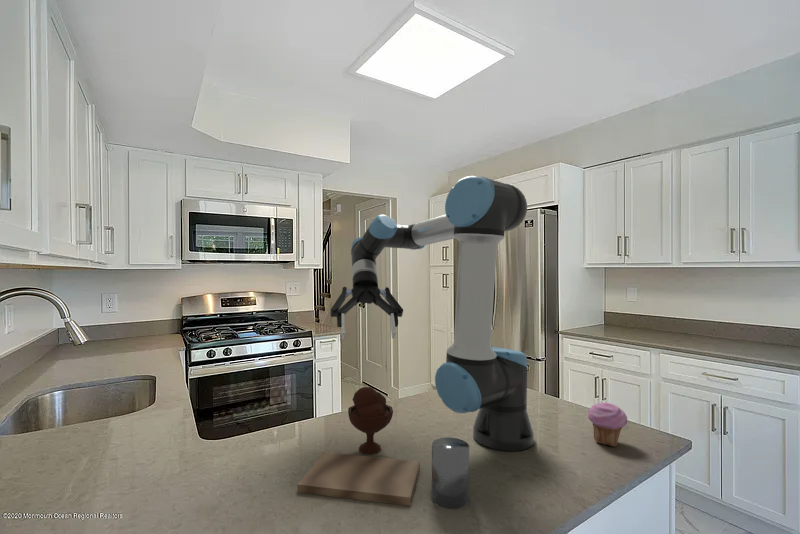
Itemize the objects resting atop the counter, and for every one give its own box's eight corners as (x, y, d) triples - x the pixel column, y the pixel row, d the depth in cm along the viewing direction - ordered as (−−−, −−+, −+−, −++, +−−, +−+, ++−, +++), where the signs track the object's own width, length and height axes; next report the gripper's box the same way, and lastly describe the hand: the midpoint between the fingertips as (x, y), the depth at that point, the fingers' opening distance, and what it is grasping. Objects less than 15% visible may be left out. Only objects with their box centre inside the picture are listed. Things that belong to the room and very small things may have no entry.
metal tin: (468, 490, 78) (469, 439, 79) (468, 511, 72) (469, 455, 72) (433, 486, 80) (433, 436, 80) (429, 506, 73) (430, 451, 73)
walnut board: (419, 468, 87) (420, 461, 87) (410, 505, 73) (410, 497, 73) (323, 458, 91) (323, 452, 91) (297, 492, 77) (297, 484, 77)
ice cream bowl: (387, 461, 90) (388, 394, 90) (340, 456, 92) (341, 391, 92) (397, 442, 100) (398, 382, 100) (354, 437, 102) (355, 379, 102)
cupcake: (584, 443, 101) (584, 404, 101) (591, 432, 107) (592, 395, 108) (624, 453, 95) (624, 411, 95) (629, 441, 102) (629, 402, 102)
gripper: (403, 286, 126) (412, 343, 111) (323, 285, 121) (321, 344, 107) (407, 270, 121) (416, 326, 106) (323, 268, 116) (321, 327, 101)
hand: (368, 335), depth 106 cm, fingers open, 13 cm apart
